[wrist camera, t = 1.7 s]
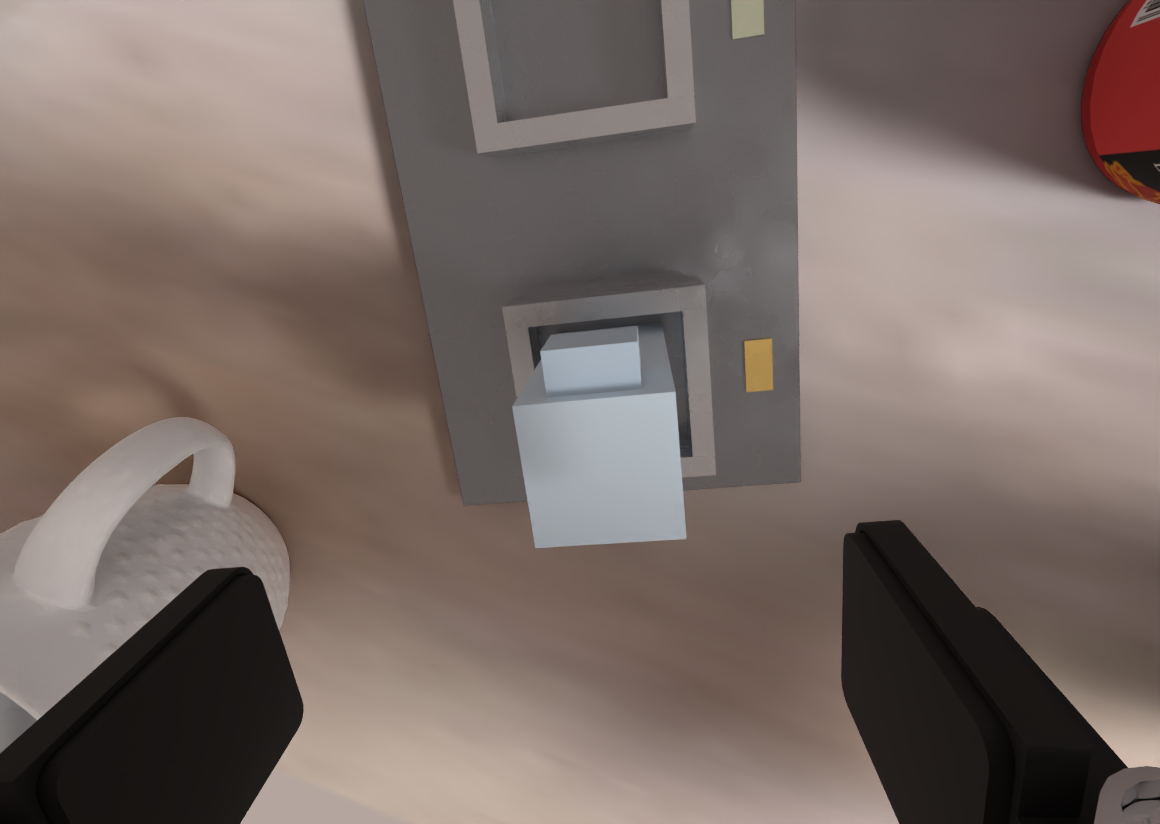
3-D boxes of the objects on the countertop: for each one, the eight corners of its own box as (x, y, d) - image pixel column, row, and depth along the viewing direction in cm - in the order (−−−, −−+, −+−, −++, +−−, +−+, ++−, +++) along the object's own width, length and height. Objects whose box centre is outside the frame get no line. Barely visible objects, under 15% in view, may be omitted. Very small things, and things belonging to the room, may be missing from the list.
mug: (151, 324, 26) (-281, 433, 14) (390, 433, 27) (182, 629, 15) (95, 590, 31) (-261, 845, 19) (299, 676, 32) (85, 978, 19)
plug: (669, 422, 24) (686, 539, 16) (570, 430, 25) (535, 548, 16) (659, 290, 23) (671, 342, 14) (552, 302, 23) (504, 359, 15)
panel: (794, 471, 26) (813, 504, 23) (469, 495, 27) (450, 528, 25) (785, -184, 19) (811, -252, 16) (354, -99, 21) (309, -146, 18)
